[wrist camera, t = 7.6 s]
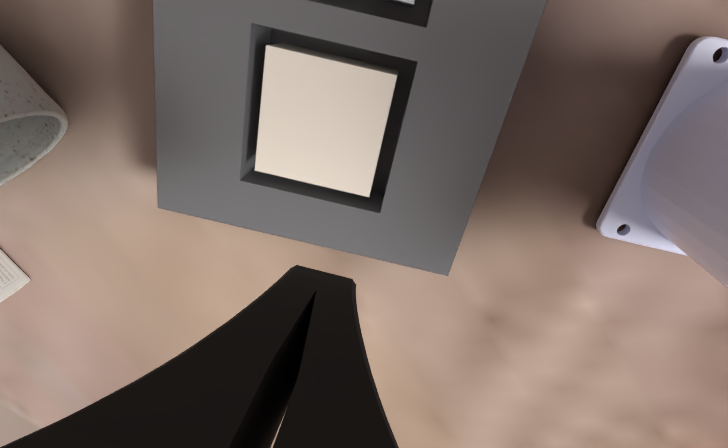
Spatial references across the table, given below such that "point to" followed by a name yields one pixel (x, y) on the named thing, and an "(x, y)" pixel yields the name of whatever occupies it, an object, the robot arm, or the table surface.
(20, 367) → the table surface
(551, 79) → the table surface
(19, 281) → the supplement box
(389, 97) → the key ivory
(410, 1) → the key bluegrey
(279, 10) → the keypad
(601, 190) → the table surface
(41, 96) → the ceramic mug
